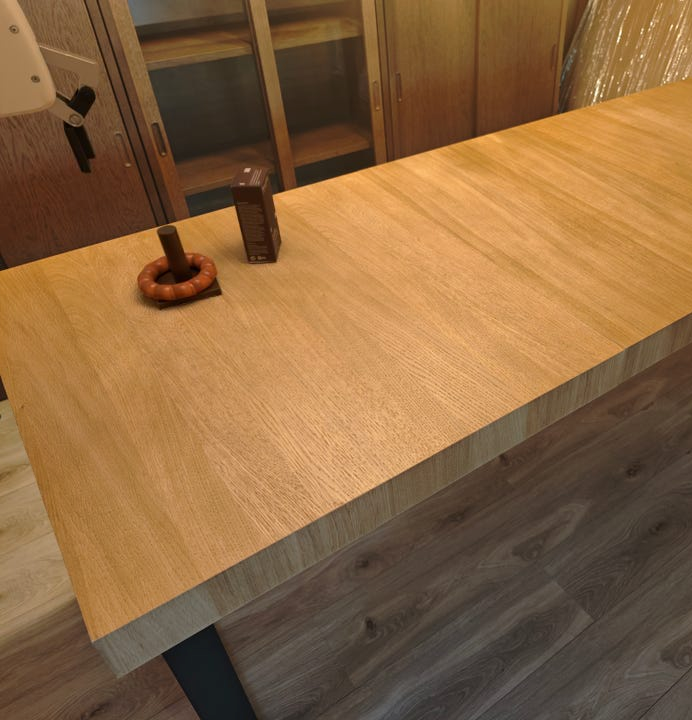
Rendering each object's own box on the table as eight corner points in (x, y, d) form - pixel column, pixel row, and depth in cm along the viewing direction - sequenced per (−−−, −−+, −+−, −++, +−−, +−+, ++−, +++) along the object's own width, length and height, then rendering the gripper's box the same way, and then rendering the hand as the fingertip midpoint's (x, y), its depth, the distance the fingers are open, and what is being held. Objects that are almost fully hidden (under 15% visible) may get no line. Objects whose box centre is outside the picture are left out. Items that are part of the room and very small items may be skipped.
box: (279, 262, 94) (261, 185, 86) (247, 263, 94) (226, 186, 86) (284, 241, 98) (268, 166, 90) (254, 242, 98) (235, 167, 90)
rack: (160, 310, 85) (136, 251, 79) (152, 280, 90) (129, 223, 84) (222, 294, 88) (203, 236, 82) (211, 266, 93) (193, 209, 87)
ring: (145, 311, 83) (140, 298, 82) (136, 273, 90) (131, 260, 88) (224, 290, 87) (220, 278, 85) (210, 255, 93) (206, 243, 92)
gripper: (-271, -36, 38) (-103, 220, 50) (52, -57, 45) (137, 175, 56) (-237, -55, 43) (-91, 182, 55) (50, -72, 50) (128, 144, 61)
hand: (24, 178), depth 55 cm, fingers open, 9 cm apart
